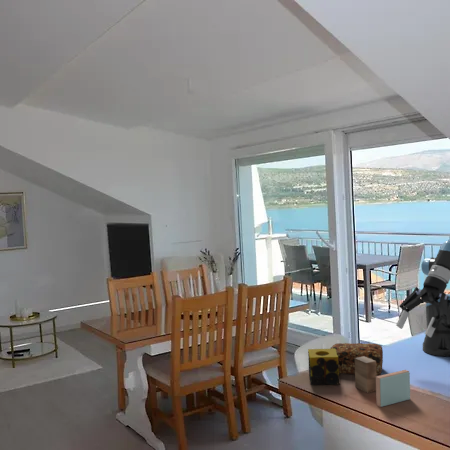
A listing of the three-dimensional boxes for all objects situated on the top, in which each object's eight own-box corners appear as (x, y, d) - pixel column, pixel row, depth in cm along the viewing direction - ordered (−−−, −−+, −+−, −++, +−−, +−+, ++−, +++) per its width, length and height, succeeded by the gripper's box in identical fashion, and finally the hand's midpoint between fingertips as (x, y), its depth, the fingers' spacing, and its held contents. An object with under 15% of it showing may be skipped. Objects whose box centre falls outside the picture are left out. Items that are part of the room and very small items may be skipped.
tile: (406, 397, 162) (405, 369, 161) (410, 399, 160) (410, 371, 159) (376, 405, 157) (375, 376, 156) (381, 407, 155) (380, 378, 154)
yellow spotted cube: (336, 375, 184) (335, 348, 184) (340, 385, 174) (339, 356, 174) (308, 375, 185) (307, 348, 185) (310, 385, 175) (309, 357, 175)
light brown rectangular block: (364, 384, 174) (363, 356, 173) (376, 390, 168) (375, 360, 168) (355, 387, 172) (354, 358, 172) (367, 392, 167) (366, 363, 166)
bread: (383, 368, 190) (383, 342, 189) (381, 378, 180) (380, 350, 179) (333, 364, 197) (332, 338, 196) (328, 373, 187) (327, 346, 187)
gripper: (405, 271, 196) (381, 319, 192) (460, 279, 173) (434, 334, 169) (417, 280, 199) (394, 328, 194) (472, 290, 176) (447, 344, 172)
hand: (412, 331), depth 182 cm, fingers open, 13 cm apart
